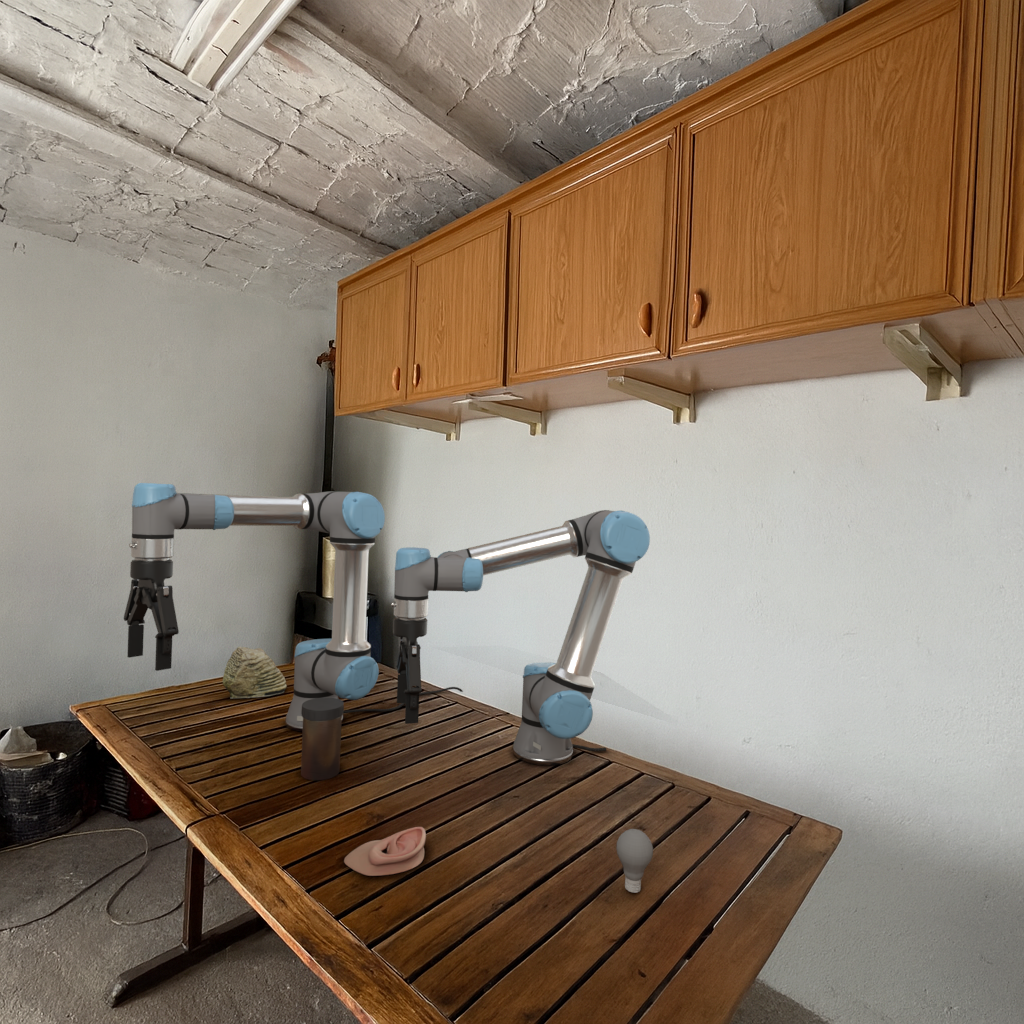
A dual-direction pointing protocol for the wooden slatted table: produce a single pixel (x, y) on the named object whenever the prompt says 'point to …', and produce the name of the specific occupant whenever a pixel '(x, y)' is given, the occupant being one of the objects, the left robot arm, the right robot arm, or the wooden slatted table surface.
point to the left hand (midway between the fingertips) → (148, 662)
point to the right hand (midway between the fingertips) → (407, 712)
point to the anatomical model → (389, 853)
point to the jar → (321, 749)
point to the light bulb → (634, 857)
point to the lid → (322, 709)
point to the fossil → (252, 674)
